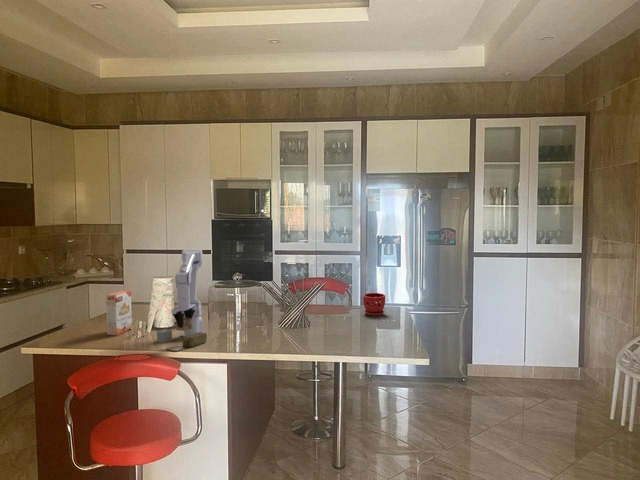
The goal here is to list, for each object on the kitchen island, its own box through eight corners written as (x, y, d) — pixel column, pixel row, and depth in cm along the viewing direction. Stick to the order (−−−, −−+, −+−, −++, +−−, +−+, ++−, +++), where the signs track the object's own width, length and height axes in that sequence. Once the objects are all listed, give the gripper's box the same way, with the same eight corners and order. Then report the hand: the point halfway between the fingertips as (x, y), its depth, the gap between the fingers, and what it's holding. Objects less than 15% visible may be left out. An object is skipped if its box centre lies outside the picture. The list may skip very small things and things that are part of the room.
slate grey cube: (164, 339, 247) (164, 329, 247) (172, 340, 245) (171, 330, 244) (156, 341, 243) (156, 331, 243) (164, 343, 240) (163, 332, 240)
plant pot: (359, 313, 303) (359, 293, 302) (377, 311, 308) (378, 292, 307) (370, 317, 291) (370, 297, 290) (389, 315, 296) (389, 295, 295)
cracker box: (117, 336, 253) (115, 295, 252) (106, 335, 254) (105, 295, 253) (132, 329, 267) (131, 290, 265) (122, 328, 268) (121, 290, 267)
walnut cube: (183, 327, 240) (183, 317, 240) (191, 328, 238) (191, 318, 238) (176, 329, 236) (175, 319, 236) (184, 330, 234) (184, 320, 233)
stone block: (207, 342, 241) (207, 332, 241) (190, 348, 231) (189, 338, 231) (198, 340, 244) (198, 330, 244) (181, 346, 234) (180, 336, 234)
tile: (176, 346, 234) (176, 345, 234) (186, 348, 230) (186, 347, 230) (166, 350, 228) (166, 348, 228) (176, 352, 225) (176, 350, 225)
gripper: (187, 294, 244) (188, 321, 245) (166, 299, 231) (166, 328, 232) (198, 295, 241) (199, 323, 242) (177, 300, 228) (178, 330, 229)
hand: (184, 326), depth 237 cm, fingers closed on walnut cube, 5 cm apart
